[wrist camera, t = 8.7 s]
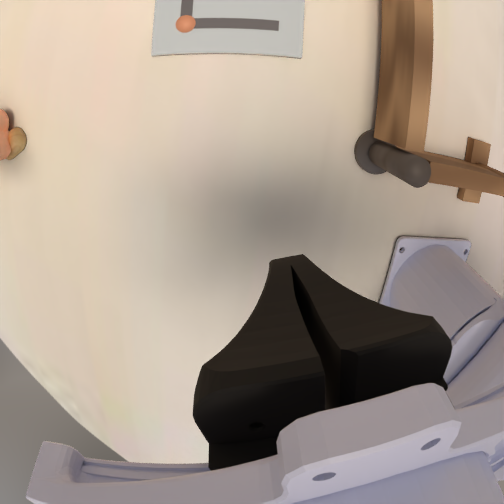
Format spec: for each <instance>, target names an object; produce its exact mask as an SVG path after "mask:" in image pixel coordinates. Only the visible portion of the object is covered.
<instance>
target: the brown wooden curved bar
mask: <svg viewBox="0 0 504 504" xmlns="http://www.w3.org/2000/svg"><path fill="white" fill-rule="evenodd" d="M432 62H433V2H432V0H382V35H381V59H380V76H379V90H378V101H377V112H376V122H375V131H374V138H377V139H379V140H382V141H385V142H388V143H390V144H393V145H396V146H398V147H401V148H403V149H407V150H412V151H417V152H422V153H423V152H424V145H425V138H426V131H427V123H428V114H429V105H430V93H431V80H432ZM369 158H370V160H371V161H372V163H374V164H375V165H377V166H379V167H381V168H382V169H384V170H386V171H388V172H389V173H391V174H393V175H395V176H396V177H398V178H400V179H401V180H403V181H405V182H406V183H408V184H410V185H411V186H413V187H416V188H419V187H422V186H424V185H426V184H427V182H428V181H429V179H430V177H431V166H430V164H429V162H428V161H427V160H426V159H424V158H421V157H419V156H417V155H414V154H412V153H410V152H407V151H405V150H402V149H400V148H397V147H394V146H392V145H389V144H387V143H384V142H376V143H374V144H373V145H372V146H371V148H370V150H369Z"/></svg>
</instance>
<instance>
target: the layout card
mask: <svg viewBox="0 0 504 504" xmlns="http://www.w3.org/2000/svg"><path fill="white" fill-rule="evenodd" d="M304 6H305V0H156V1H155V11H154V23H153V37H152V55H151V56H162V55H178V54H253V55H269V56H281V57H292V58H302V50H303V30H304Z"/></svg>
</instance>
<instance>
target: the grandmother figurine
mask: <svg viewBox="0 0 504 504" xmlns="http://www.w3.org/2000/svg"><path fill="white" fill-rule="evenodd" d="M8 127H9V118H8V116H7V113H6V112H5V111H4V110H2V109H0V160H3V159H8V160H11V159H13V158H14V157H15V156H17V155H18V154H19V153H20V152H21V151H22V150H23V149H24V148H25V145H26V135H25V133H24V132H23V130H22V129H21V128H18V127H15V128H13V129H12V130H11V131H8Z"/></svg>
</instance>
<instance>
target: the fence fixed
mask: <svg viewBox="0 0 504 504" xmlns="http://www.w3.org/2000/svg"><path fill="white" fill-rule="evenodd" d="M374 131H375V130H369V131H367V132H365V133H363V134H362V135H361V136H360V137H359V139H358V140H357V142H356V145H355V158H356V161H357V163H358V164H359V166H360V167H361V168H362V169H364V170H365V171H367V172H369V173H371V174H381V173H384V172H386V170H384V169H382V168H381V167H379V166H377V165H375V164H374V163H372V161H371V160H370V158H369V150H370V148H371V146H372V145H373V144H374V143H376V142H384V143H387V144H389V145H392V146H394V147H397V148H400V149H402V150H405V151H407V152H410V153H412V154H414V155H417V156H419V157H421V158H424V159H426V160H427V161H428V162H429V164H430V166H431V177H430V179H429V181H428V182H429V183H436V184H442V185H448V186H454V187H459V191H458V196H457V198H459V199H460V200H462V201H467V202H473V203H479V201H480V197H481V193H482V192H486V193H491V194H496V195H500V196H503V197H504V173H502V172H500V171H498V170H496V169H493V168H491V167H489V166H487V164H488V158H489V152H490V146H491V144H488V143H485V142H482V141H479V140H476V139H473V138H469V137H468V142H467V149H466V155H465V160H461V159H457V158H453V157H448V156H444V155H440V154H435V153H430V152H425V151H424V152H423V153H422V152H417V151H412V150H407V149H403V148H401V147H398V146H396V145H393V144H390V143H388V142H385V141H382V140H379V139H377V138H374Z"/></svg>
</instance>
